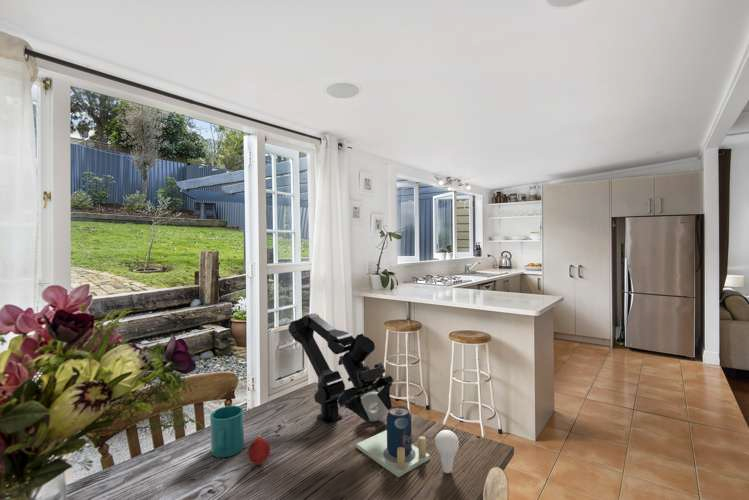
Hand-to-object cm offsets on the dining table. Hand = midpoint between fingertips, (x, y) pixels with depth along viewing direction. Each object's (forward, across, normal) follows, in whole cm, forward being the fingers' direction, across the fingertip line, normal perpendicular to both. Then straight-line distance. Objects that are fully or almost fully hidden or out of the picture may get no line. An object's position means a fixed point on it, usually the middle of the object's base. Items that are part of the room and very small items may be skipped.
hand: (380, 416), depth 109 cm
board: (+10, 0, +3) cm, 10 cm away
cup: (-14, -34, +28) cm, 46 cm away
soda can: (+11, 0, 0) cm, 11 cm away
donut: (-2, +9, +16) cm, 19 cm away
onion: (-5, -30, +19) cm, 36 cm away
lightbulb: (+21, +4, -8) cm, 23 cm away
